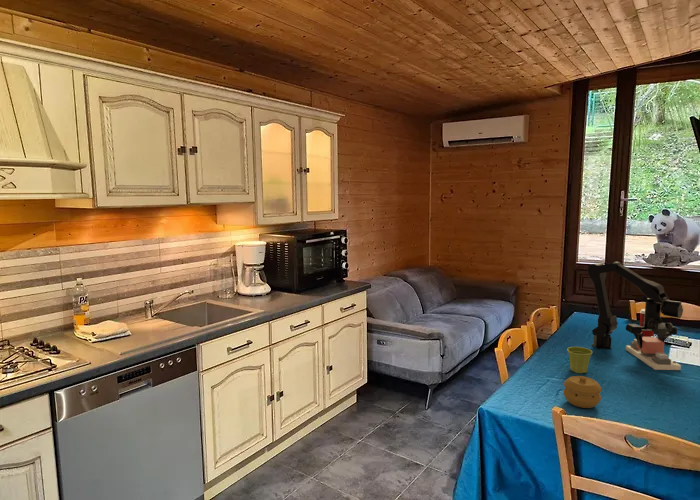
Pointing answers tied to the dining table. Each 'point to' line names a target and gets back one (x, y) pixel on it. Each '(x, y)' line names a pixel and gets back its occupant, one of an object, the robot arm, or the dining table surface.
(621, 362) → the dining table surface
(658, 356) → the breaker right
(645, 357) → the breaker panel
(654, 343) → the terracotta orange block
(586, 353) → the plant pot
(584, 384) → the pot
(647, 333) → the paper cup
